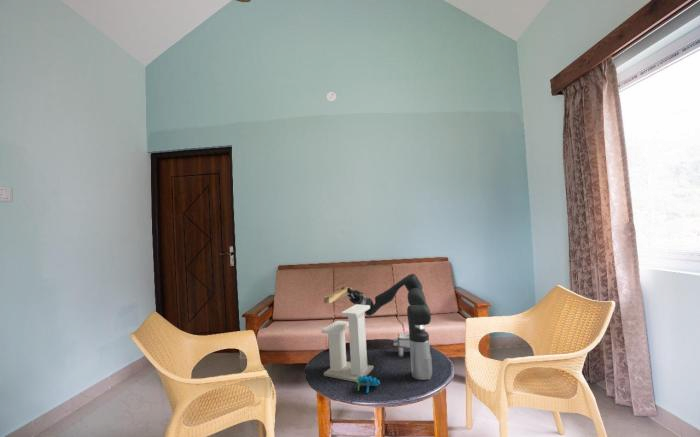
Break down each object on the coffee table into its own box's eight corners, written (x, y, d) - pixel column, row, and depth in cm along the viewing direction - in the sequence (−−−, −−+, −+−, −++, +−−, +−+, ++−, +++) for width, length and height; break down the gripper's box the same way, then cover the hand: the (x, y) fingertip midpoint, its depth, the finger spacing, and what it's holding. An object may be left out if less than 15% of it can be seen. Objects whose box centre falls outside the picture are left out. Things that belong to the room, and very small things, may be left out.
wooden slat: (352, 292, 173) (352, 287, 173) (329, 303, 151) (328, 297, 151) (347, 292, 174) (347, 287, 174) (324, 303, 152) (323, 297, 152)
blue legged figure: (383, 383, 138) (374, 374, 132) (382, 397, 134) (373, 388, 128) (361, 382, 143) (352, 373, 137) (359, 396, 139) (349, 387, 133)
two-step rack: (373, 368, 157) (369, 305, 158) (360, 382, 143) (356, 313, 144) (339, 362, 166) (336, 302, 167) (323, 375, 152) (320, 310, 153)
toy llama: (395, 351, 177) (392, 316, 178) (426, 352, 173) (423, 316, 174) (394, 356, 169) (391, 320, 170) (426, 357, 166) (424, 320, 167)
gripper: (348, 292, 187) (335, 282, 174) (369, 293, 180) (357, 283, 167) (346, 304, 183) (332, 295, 170) (367, 305, 177) (355, 296, 164)
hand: (345, 289), depth 169 cm, fingers closed on wooden slat, 3 cm apart
